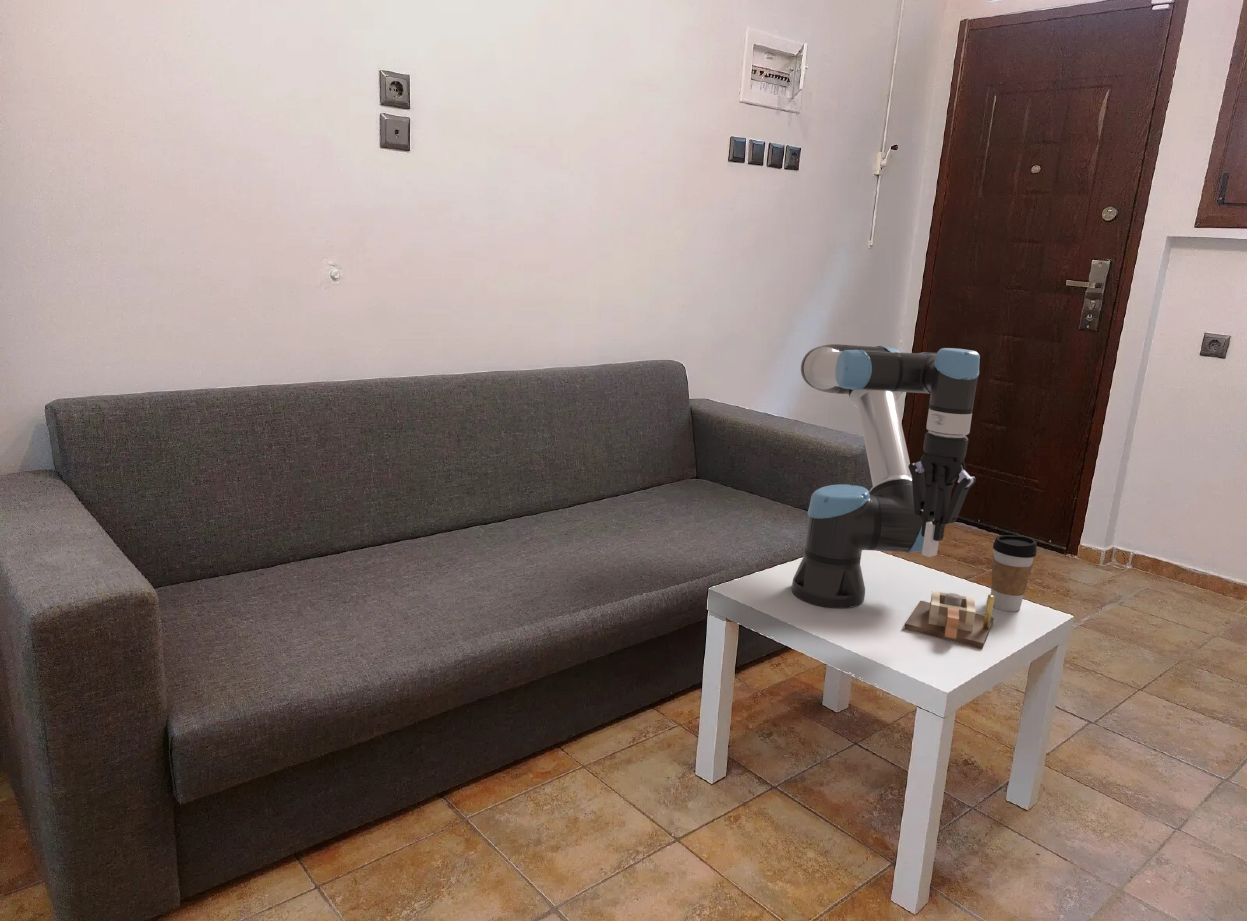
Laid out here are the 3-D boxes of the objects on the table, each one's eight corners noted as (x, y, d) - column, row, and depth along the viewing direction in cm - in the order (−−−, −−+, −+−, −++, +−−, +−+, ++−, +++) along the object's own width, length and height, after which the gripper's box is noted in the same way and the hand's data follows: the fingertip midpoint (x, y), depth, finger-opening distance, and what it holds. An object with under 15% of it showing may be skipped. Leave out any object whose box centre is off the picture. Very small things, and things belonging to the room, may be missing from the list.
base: (903, 629, 168) (908, 598, 167) (919, 605, 180) (923, 577, 179) (982, 649, 161) (987, 617, 160) (993, 623, 174) (998, 593, 172)
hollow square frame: (929, 609, 176) (932, 590, 175) (971, 616, 173) (974, 597, 172) (927, 633, 164) (930, 613, 163) (973, 641, 161) (976, 622, 160)
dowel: (982, 628, 168) (987, 595, 166) (983, 626, 169) (988, 594, 167) (988, 630, 167) (994, 597, 165) (989, 628, 168) (995, 595, 166)
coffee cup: (1031, 616, 178) (1043, 547, 175) (987, 610, 180) (999, 542, 176) (1021, 601, 186) (1032, 535, 183) (980, 596, 188) (990, 530, 184)
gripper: (904, 428, 162) (888, 547, 167) (967, 442, 152) (948, 568, 157) (928, 425, 166) (911, 542, 171) (991, 439, 156) (971, 562, 161)
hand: (929, 554), depth 164 cm, fingers closed
